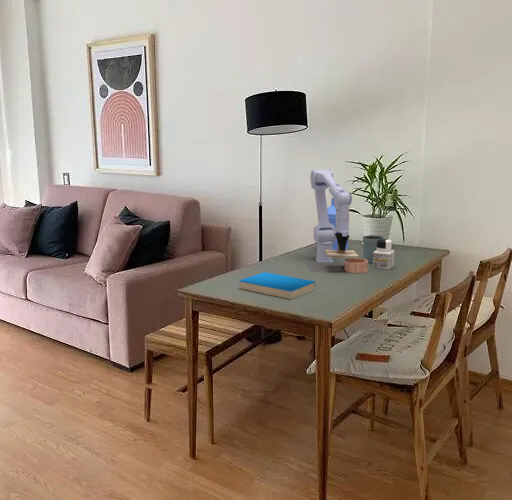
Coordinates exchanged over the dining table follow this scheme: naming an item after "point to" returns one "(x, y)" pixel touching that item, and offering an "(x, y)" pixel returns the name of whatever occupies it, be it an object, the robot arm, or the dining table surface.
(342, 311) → the dining table surface
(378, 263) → the container
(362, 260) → the bowl
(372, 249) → the dark green cup
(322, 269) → the mat
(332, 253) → the lid
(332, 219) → the water jug
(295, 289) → the book
